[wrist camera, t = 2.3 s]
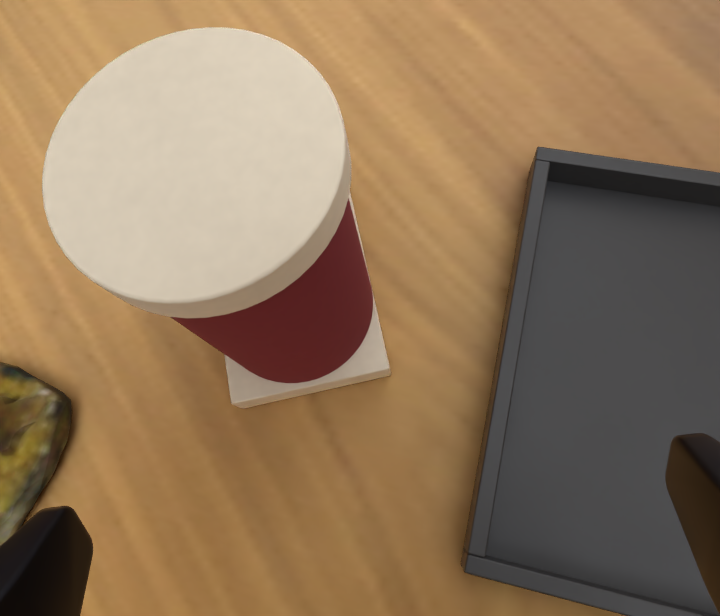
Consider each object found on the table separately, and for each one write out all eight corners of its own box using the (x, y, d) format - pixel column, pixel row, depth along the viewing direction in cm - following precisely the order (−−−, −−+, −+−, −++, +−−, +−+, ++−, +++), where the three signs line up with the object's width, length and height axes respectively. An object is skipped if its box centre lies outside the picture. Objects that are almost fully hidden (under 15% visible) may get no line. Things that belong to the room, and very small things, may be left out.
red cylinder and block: (399, 376, 24) (375, 259, 12) (234, 413, 24) (45, 336, 12) (355, 183, 26) (299, -71, 14) (207, 218, 27) (32, -4, 15)
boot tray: (816, 659, 19) (858, 677, 17) (460, 565, 21) (463, 573, 19) (825, 216, 24) (860, 192, 22) (529, 171, 26) (537, 145, 24)
